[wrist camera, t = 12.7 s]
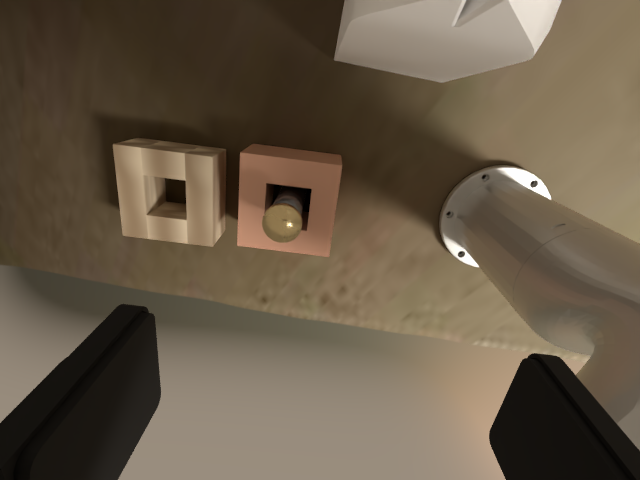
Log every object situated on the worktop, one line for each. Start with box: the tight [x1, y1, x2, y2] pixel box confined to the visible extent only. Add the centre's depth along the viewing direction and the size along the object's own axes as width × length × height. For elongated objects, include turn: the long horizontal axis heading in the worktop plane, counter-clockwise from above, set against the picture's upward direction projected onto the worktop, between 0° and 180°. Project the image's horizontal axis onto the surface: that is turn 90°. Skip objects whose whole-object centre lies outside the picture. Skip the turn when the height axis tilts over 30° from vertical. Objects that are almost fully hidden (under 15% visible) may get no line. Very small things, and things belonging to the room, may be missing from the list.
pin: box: [262, 185, 306, 243], centre depth 36 cm, size 4×4×11 cm
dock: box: [237, 144, 342, 257], centre depth 39 cm, size 10×10×6 cm
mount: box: [113, 138, 226, 247], centre depth 39 cm, size 10×10×5 cm
